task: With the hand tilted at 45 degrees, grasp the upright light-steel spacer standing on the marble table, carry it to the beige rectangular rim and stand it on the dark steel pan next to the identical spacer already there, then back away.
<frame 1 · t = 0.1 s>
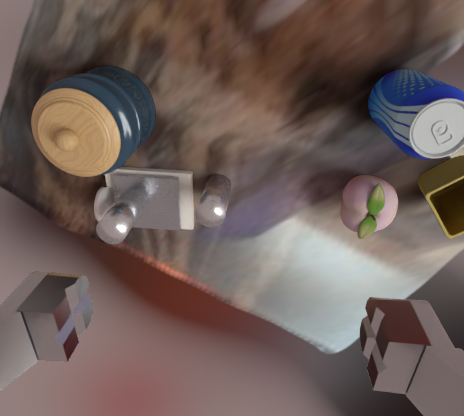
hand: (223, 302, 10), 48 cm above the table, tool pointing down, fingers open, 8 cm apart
flower pot: (440, 177, 58), on the table
beer can: (395, 98, 53), on the table
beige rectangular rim: (151, 197, 64), on the table
pan: (148, 201, 63), point 2 cm above the table, slide at -0.4 cm, touching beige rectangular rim, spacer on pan
canister: (118, 108, 57), on the table
steel spacer: (218, 186, 62), on the table
decorative fruit: (361, 189, 60), on the table
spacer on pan: (133, 200, 62), point 3 cm above the table, touching pan
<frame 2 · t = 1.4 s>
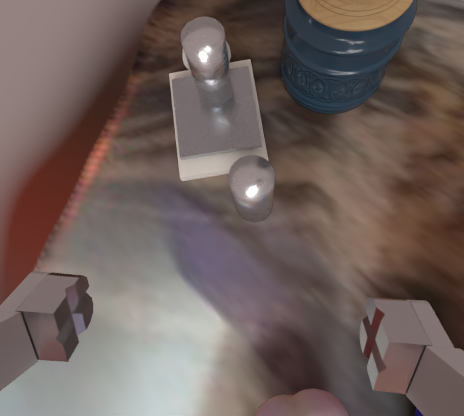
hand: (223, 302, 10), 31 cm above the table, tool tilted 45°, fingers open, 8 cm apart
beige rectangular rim: (217, 120, 47), on the table
pan: (215, 113, 45), point 2 cm above the table, slide at -0.4 cm, touching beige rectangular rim, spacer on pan
canister: (329, 73, 48), on the table
steel spacer: (254, 204, 44), on the table
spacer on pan: (215, 92, 45), point 3 cm above the table, touching pan
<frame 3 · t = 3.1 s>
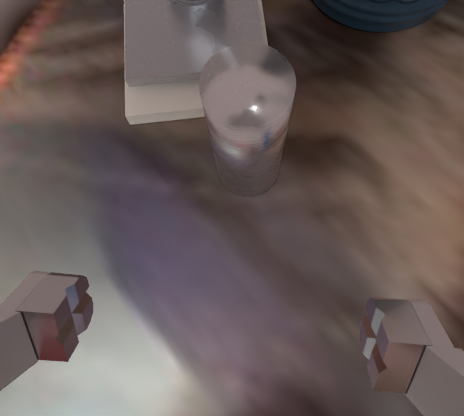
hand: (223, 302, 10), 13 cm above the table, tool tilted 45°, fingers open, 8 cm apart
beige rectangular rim: (195, 35, 29), on the table
pan: (192, 17, 27), point 2 cm above the table, slide at -0.4 cm, touching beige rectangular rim, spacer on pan
steel spacer: (248, 167, 26), on the table
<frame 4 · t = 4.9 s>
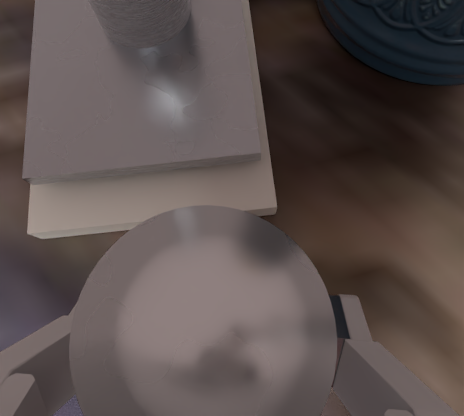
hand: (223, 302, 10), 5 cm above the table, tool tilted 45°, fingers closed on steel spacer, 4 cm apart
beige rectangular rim: (152, 88, 19), on the table
pan: (142, 65, 17), point 2 cm above the table, slide at -0.4 cm, touching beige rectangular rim, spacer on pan
steel spacer: (231, 320, 15), on the table, touching gripper
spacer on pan: (145, 10, 17), point 3 cm above the table, touching pan
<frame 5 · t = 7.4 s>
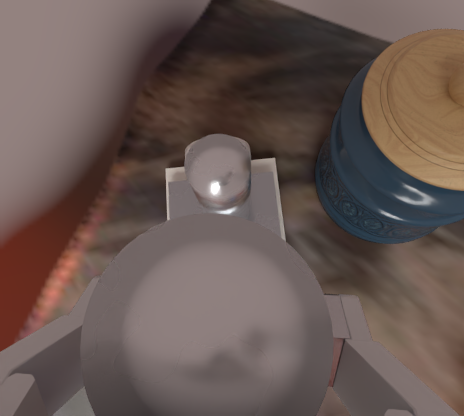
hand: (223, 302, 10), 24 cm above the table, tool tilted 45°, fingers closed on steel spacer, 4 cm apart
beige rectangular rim: (226, 239, 35), on the table
pan: (225, 235, 33), point 2 cm above the table, slide at -0.4 cm, touching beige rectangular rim, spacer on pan
canister: (377, 183, 36), on the table
steel spacer: (232, 321, 16), point 18 cm above the table, touching gripper
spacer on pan: (227, 206, 33), point 3 cm above the table, touching pan
when the fingers open (9 cm above the table, at t = 9.7 s): steel spacer stays where it is, resting on pan.
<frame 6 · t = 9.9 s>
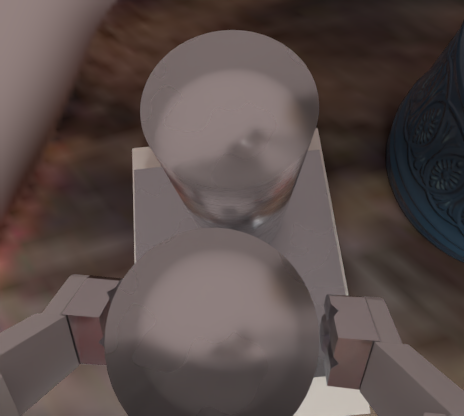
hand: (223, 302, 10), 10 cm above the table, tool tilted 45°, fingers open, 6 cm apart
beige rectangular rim: (238, 268, 20), on the table
pan: (237, 263, 18), point 2 cm above the table, slide at -0.4 cm, touching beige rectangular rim, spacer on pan, steel spacer
steel spacer: (233, 320, 17), point 3 cm above the table, touching pan
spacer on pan: (239, 212, 18), point 3 cm above the table, touching pan
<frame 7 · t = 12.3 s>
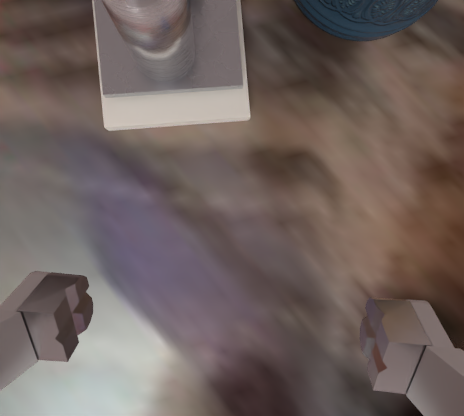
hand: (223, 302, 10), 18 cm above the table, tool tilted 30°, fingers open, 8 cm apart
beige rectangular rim: (170, 29, 28), on the table
pan: (167, 17, 26), point 2 cm above the table, slide at -0.4 cm, touching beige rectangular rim, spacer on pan, steel spacer
steel spacer: (164, 51, 26), point 3 cm above the table, touching pan
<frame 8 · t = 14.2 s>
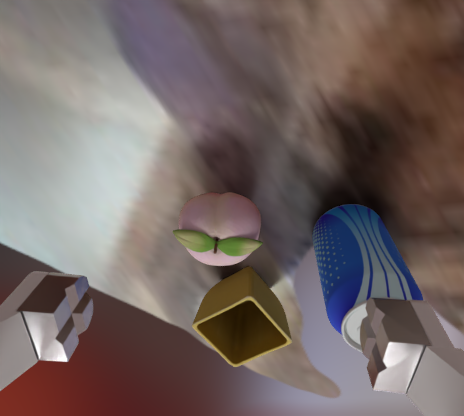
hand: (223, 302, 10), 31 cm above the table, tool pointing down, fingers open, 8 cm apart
flower pot: (245, 283, 50), on the table
beer can: (345, 228, 45), on the table
decorative fruit: (225, 206, 45), on the table
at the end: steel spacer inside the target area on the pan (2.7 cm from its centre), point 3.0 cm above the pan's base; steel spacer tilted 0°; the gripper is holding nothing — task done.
